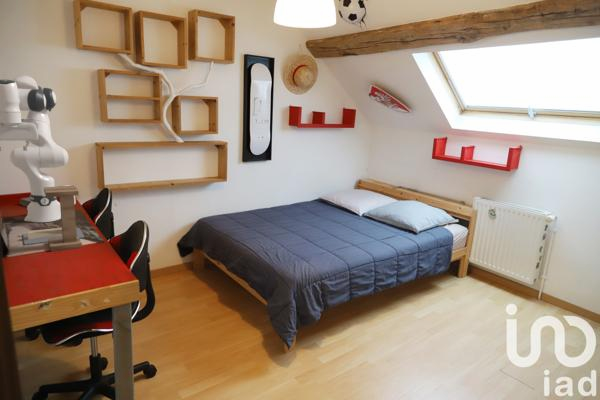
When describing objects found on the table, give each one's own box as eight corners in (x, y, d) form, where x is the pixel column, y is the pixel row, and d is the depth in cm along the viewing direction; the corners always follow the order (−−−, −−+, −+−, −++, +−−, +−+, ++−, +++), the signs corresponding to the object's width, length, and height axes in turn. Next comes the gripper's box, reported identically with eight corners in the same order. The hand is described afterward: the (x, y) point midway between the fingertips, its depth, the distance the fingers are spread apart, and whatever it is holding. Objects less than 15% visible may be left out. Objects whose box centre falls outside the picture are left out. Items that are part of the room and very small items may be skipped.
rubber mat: (23, 235, 195) (22, 234, 195) (79, 228, 209) (79, 227, 209) (24, 245, 183) (24, 244, 183) (84, 237, 197) (84, 237, 196)
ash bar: (27, 237, 191) (27, 231, 190) (76, 231, 203) (75, 226, 202) (28, 239, 189) (27, 233, 188) (77, 233, 200) (76, 227, 200)
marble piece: (35, 209, 239) (34, 202, 238) (14, 207, 242) (13, 200, 241) (57, 203, 254) (57, 196, 253) (38, 201, 258) (37, 194, 257)
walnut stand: (48, 243, 187) (43, 187, 181) (77, 239, 194) (74, 185, 188) (50, 251, 178) (46, 192, 172) (81, 247, 185) (78, 190, 179)
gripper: (37, 118, 185) (39, 149, 188) (-20, 117, 174) (-17, 150, 177) (38, 119, 180) (40, 151, 184) (-21, 118, 169) (-17, 152, 172)
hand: (12, 150), depth 180 cm, fingers open, 8 cm apart
